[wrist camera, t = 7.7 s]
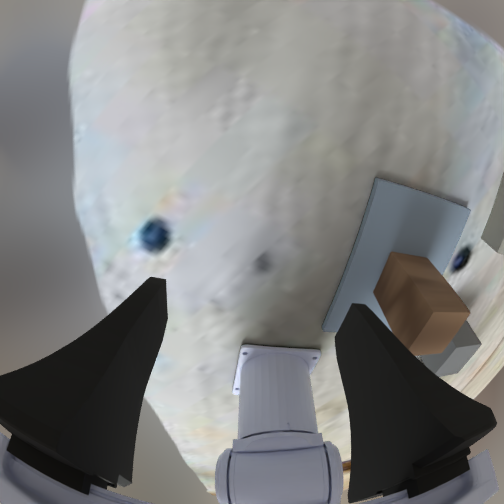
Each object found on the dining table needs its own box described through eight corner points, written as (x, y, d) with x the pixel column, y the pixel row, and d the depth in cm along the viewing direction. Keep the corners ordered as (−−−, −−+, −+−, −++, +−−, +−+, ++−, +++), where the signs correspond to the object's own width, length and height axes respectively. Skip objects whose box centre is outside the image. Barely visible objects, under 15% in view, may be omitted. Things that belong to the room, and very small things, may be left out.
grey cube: (442, 343, 27) (457, 373, 22) (415, 346, 26) (430, 378, 22) (462, 314, 24) (481, 344, 20) (436, 314, 24) (456, 347, 20)
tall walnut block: (408, 295, 21) (441, 352, 15) (372, 292, 21) (403, 356, 15) (426, 257, 19) (470, 312, 13) (390, 251, 19) (433, 311, 13)
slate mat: (406, 329, 24) (408, 333, 24) (321, 326, 24) (322, 331, 23) (466, 207, 17) (470, 210, 17) (375, 177, 17) (379, 179, 16)
